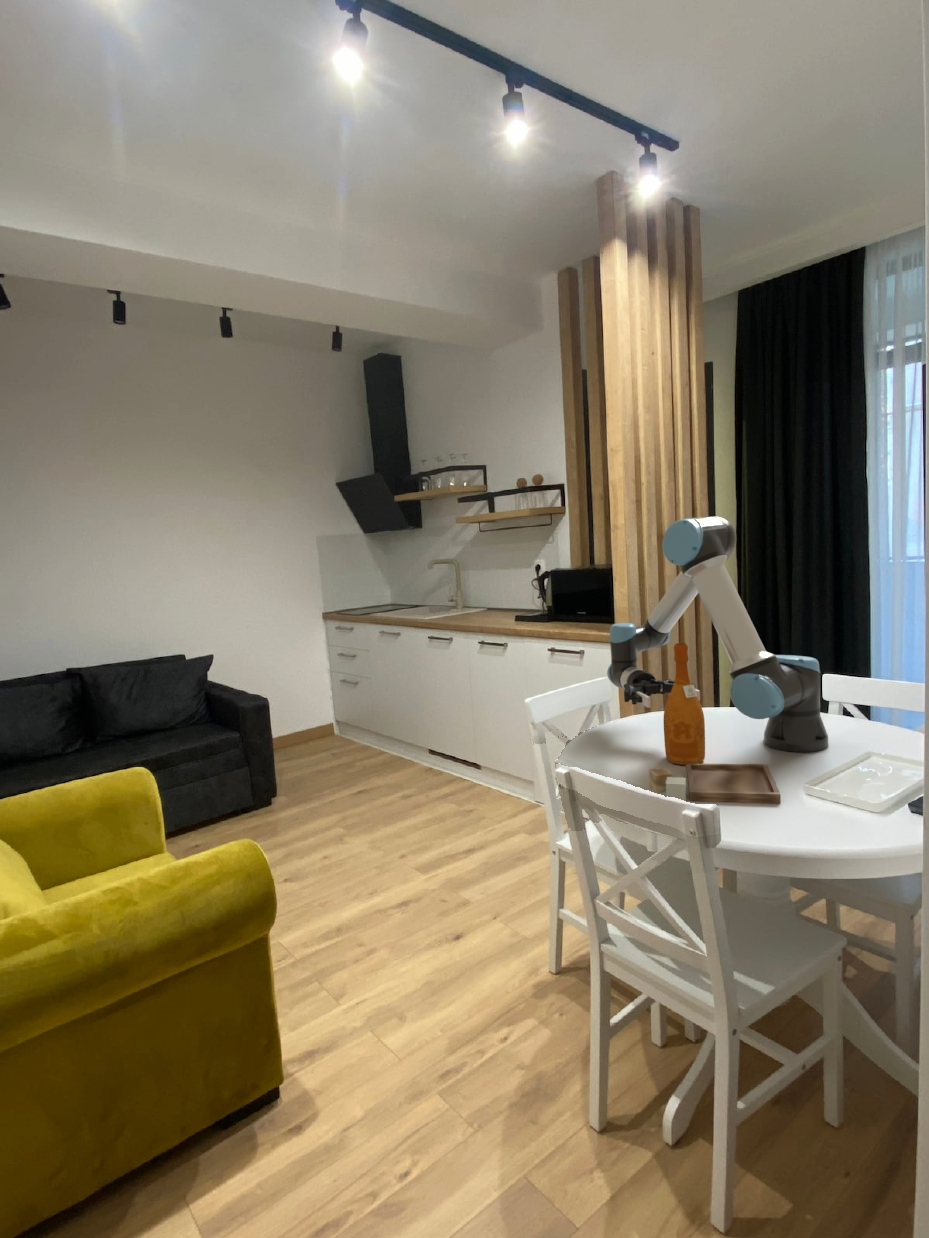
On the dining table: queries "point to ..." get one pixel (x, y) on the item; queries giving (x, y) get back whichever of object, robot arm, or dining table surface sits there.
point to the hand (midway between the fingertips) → (674, 699)
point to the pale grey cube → (676, 787)
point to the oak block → (659, 779)
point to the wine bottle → (683, 716)
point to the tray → (732, 783)
